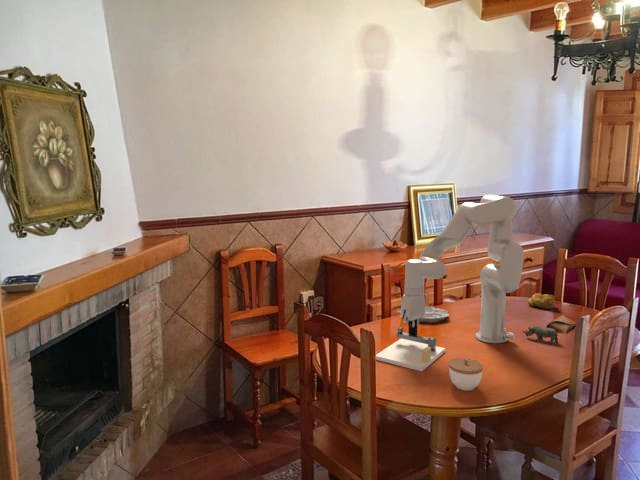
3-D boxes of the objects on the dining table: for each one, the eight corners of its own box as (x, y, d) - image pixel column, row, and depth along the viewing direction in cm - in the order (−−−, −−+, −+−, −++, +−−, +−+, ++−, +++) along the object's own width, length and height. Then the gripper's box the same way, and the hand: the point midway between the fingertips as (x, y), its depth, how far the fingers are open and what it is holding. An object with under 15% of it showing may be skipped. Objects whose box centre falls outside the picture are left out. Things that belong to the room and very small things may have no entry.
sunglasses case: (566, 334, 214) (559, 319, 216) (551, 339, 219) (544, 324, 220) (579, 324, 227) (572, 310, 229) (564, 328, 232) (557, 315, 233)
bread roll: (525, 307, 254) (526, 291, 253) (530, 302, 262) (531, 287, 261) (552, 311, 246) (553, 295, 245) (557, 307, 254) (558, 291, 253)
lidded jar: (476, 396, 159) (478, 368, 158) (443, 388, 165) (444, 361, 163) (485, 384, 168) (486, 357, 167) (453, 376, 174) (454, 351, 172)
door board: (445, 351, 196) (445, 337, 195) (422, 371, 178) (422, 355, 177) (400, 341, 207) (401, 328, 206) (374, 359, 189) (375, 344, 188)
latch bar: (436, 349, 194) (437, 334, 193) (433, 351, 192) (434, 336, 191) (399, 340, 203) (399, 326, 202) (395, 343, 201) (396, 328, 200)
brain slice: (450, 326, 227) (450, 319, 226) (411, 323, 230) (412, 317, 230) (448, 313, 246) (448, 307, 245) (412, 311, 249) (413, 305, 249)
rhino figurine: (523, 335, 214) (524, 322, 213) (558, 342, 206) (559, 328, 205) (521, 338, 210) (521, 324, 209) (556, 345, 202) (557, 331, 201)
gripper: (419, 286, 205) (417, 329, 208) (394, 292, 196) (393, 337, 199) (433, 289, 199) (432, 333, 202) (408, 296, 190) (407, 342, 193)
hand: (412, 335), depth 201 cm, fingers closed
